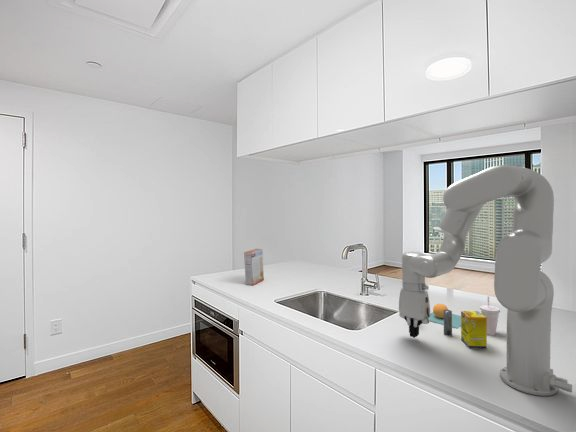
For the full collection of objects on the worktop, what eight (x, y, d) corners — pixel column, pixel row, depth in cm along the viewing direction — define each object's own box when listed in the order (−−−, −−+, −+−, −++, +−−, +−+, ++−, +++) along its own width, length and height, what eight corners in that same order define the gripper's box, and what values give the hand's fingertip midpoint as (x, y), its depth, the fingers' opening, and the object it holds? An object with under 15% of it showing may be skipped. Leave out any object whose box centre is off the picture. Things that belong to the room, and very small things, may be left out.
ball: (448, 304, 130) (445, 319, 128) (451, 307, 134) (448, 321, 133) (433, 300, 134) (430, 314, 132) (436, 303, 138) (433, 316, 137)
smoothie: (475, 330, 120) (475, 294, 120) (491, 329, 121) (491, 293, 120) (487, 337, 114) (487, 299, 113) (504, 336, 114) (504, 298, 114)
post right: (453, 334, 117) (453, 310, 117) (450, 336, 115) (450, 312, 115) (445, 332, 119) (445, 309, 119) (442, 334, 117) (442, 311, 117)
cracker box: (256, 279, 208) (255, 248, 207) (264, 280, 206) (263, 248, 205) (244, 284, 196) (243, 251, 195) (253, 285, 193) (251, 252, 192)
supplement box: (460, 340, 112) (460, 310, 111) (478, 340, 111) (478, 310, 111) (468, 348, 106) (468, 316, 106) (487, 348, 106) (487, 317, 105)
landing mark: (470, 318, 131) (470, 318, 131) (457, 328, 122) (457, 327, 122) (436, 310, 142) (436, 310, 142) (422, 318, 133) (422, 318, 133)
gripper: (439, 288, 109) (439, 339, 110) (399, 280, 121) (400, 327, 122) (429, 292, 104) (429, 346, 105) (389, 284, 116) (389, 333, 117)
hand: (414, 335), depth 113 cm, fingers closed
